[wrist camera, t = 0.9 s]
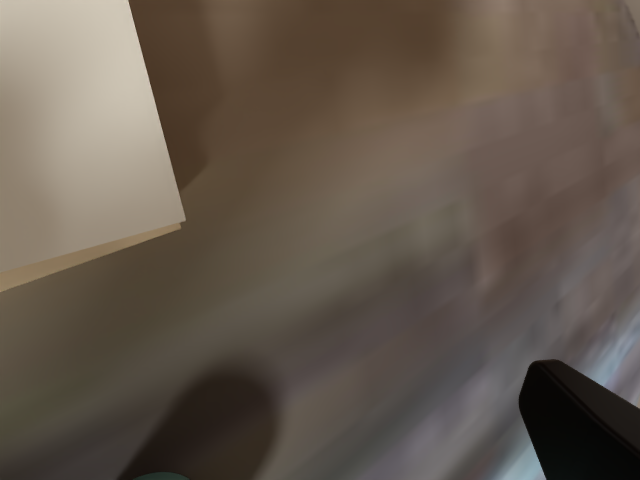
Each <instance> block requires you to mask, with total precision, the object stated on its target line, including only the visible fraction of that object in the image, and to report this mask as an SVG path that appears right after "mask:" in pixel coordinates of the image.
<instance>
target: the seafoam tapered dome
mask: <svg viewBox="0 0 640 480" xmlns="http://www.w3.org/2000/svg"><path fill="white" fill-rule="evenodd" d="M133 480H190V479H188V478H187V477H185V476H182V475H180V474H176V473H172V472H156V473H150V474H146V475H143V476H140V477H137V478H135V479H133Z"/></svg>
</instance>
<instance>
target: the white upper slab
mask: <svg viewBox="0 0 640 480" xmlns="http://www.w3.org/2000/svg"><path fill="white" fill-rule="evenodd" d="M183 221H186V218H185V214H184V211H183V207H182V203H181V199H180V195H179V192H178V188H177V184H176V180H175V176H174V173H173V169H172V165H171V161H170V158H169V154H168V150H167V146H166V142H165V139H164V135H163V131H162V127H161V123H160V120H159V116H158V112H157V108H156V104H155V101H154V97H153V93H152V89H151V85H150V82H149V78H148V74H147V70H146V66H145V63H144V59H143V55H142V51H141V47H140V44H139V40H138V36H137V32H136V28H135V25H134V21H133V17H132V13H131V10H130V6H129V2H128V0H0V273H1V272H4V271H8V270H11V269H15V268H19V267H22V266H26V265H29V264H33V263H36V262H40V261H44V260H47V259H51V258H54V257H58V256H61V255H65V254H69V253H72V252H76V251H79V250H83V249H86V248H90V247H94V246H97V245H101V244H104V243H108V242H111V241H115V240H119V239H122V238H126V237H129V236H133V235H136V234H140V233H144V232H147V231H151V230H154V229H158V228H161V227H165V226H169V225H172V224H176V223H179V222H183Z"/></svg>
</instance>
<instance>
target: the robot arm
mask: <svg viewBox="0 0 640 480" xmlns="http://www.w3.org/2000/svg"><path fill="white" fill-rule="evenodd" d="M519 409H520V413H521V416H522V418H523V421H524V423H525V426H526V428H527V431H528V434H529V436H530V439H531V441H532V444H533V446H534V449H535V452H536V454H537V457H538V459H539V462H540V464H541V467H542V470H543V472H544V475H545V477H546V480H640V409H639V408H638V407H636V406H634V405H633V404H631V403H629V402H628V401H626V400H624V399H623V398H621V397H619V396H618V395H616V394H615V393H613V392H611V391H610V390H608V389H606V388H605V387H603V386H601V385H600V384H598V383H596V382H595V381H593V380H591V379H590V378H588V377H586V376H585V375H583V374H582V373H580V372H578V371H577V370H575V369H573V368H572V367H570V366H568V365H567V364H565V363H563V362H562V361H559V360H555V359H551V360H538V361H534V362H532V363H531V364H530V366H529V368H528V371H527V374H526V377H525V380H524V383H523V386H522V389H521V392H520V395H519Z"/></svg>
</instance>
